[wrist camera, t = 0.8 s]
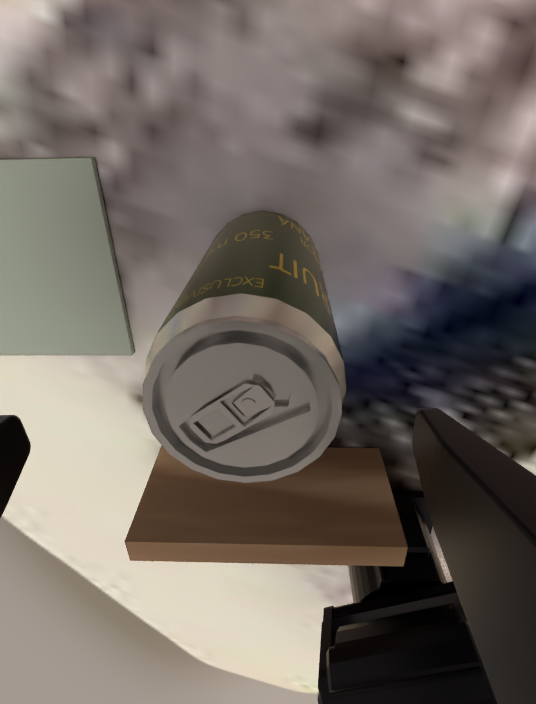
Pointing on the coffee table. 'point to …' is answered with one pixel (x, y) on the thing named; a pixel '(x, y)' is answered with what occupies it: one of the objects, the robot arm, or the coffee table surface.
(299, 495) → the stand
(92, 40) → the coffee table surface
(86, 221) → the mat
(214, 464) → the beer can
